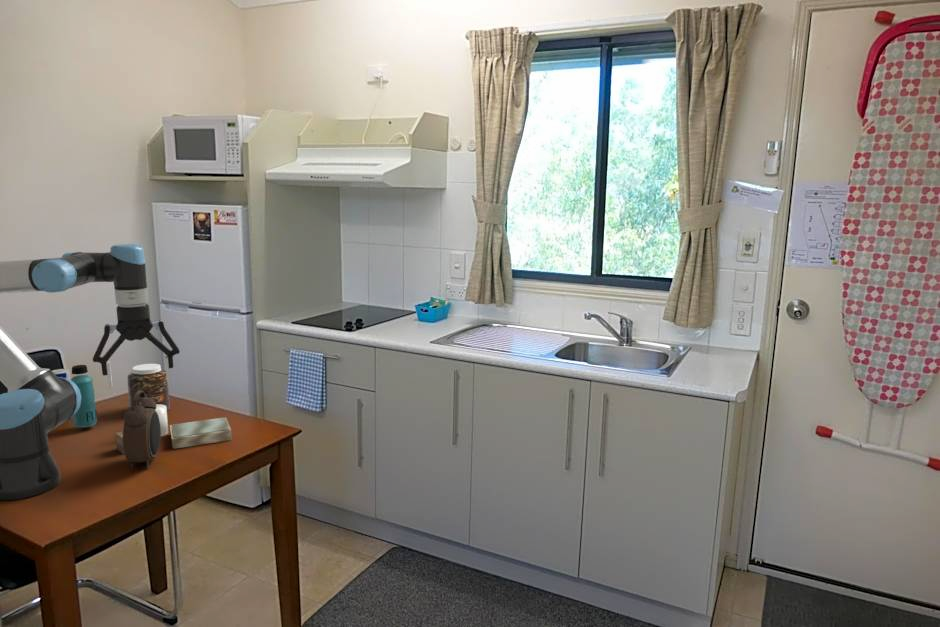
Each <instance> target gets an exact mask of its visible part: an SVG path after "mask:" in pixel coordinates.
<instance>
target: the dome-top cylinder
mask: <svg viewBox="0 0 940 627" xmlns="http://www.w3.org/2000/svg"><path fill="white" fill-rule="evenodd" d="M155 410H156V412H157V414H158V417H159V421H160V428H161V437H164V436H166V435H167V434H169V423H168V422H169V421H168V411H167V408H166V406H165V405H161V404H156V409H155Z"/></svg>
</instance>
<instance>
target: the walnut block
mask: <svg viewBox="0 0 940 627" xmlns="http://www.w3.org/2000/svg"><path fill="white" fill-rule="evenodd" d="M115 443H116V450H117V451H119V452H120V453H121V454H122V455H125V453H124V446H123V430H122V431H118V432H115Z"/></svg>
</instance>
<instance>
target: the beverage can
mask: <svg viewBox="0 0 940 627" xmlns="http://www.w3.org/2000/svg"><path fill="white" fill-rule="evenodd" d="M51 371H52V372H53V373H54V374H55V375H56V376H57V377H62V378H67V379H70V380H71V379H72V378H71V371H70V369H68V368H58V369H54V370H51Z"/></svg>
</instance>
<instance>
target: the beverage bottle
mask: <svg viewBox="0 0 940 627" xmlns="http://www.w3.org/2000/svg"><path fill="white" fill-rule="evenodd" d="M88 372H89V371H88V366H87V365H86V364H77V365H73V366H72V367H71V374H72V375H74V376H73V377H71V378H70V379H71V381H73V382H74V383H75V384H76V385H77V387H78V388H79V390H80V393H81V405H80V408H79V409H78V411H77V412H76V413H75V414H74V415H73V416H72V417H71V419H72V421H73V422H72V423H73V425H74V427H75V428H88V427H93V426H94V425H96V424H97V423H98V413H97V408H96V397H95V389H94V383H93V377H91V376H89V375H88V374H87V373H88Z"/></svg>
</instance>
